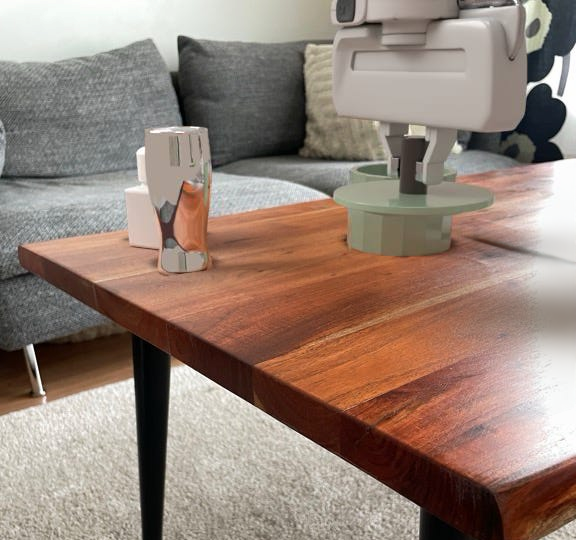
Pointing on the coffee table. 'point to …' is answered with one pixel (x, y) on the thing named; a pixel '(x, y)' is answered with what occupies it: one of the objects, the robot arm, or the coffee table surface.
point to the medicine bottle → (141, 210)
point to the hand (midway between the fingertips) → (413, 181)
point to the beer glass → (180, 195)
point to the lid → (413, 191)
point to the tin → (396, 223)
